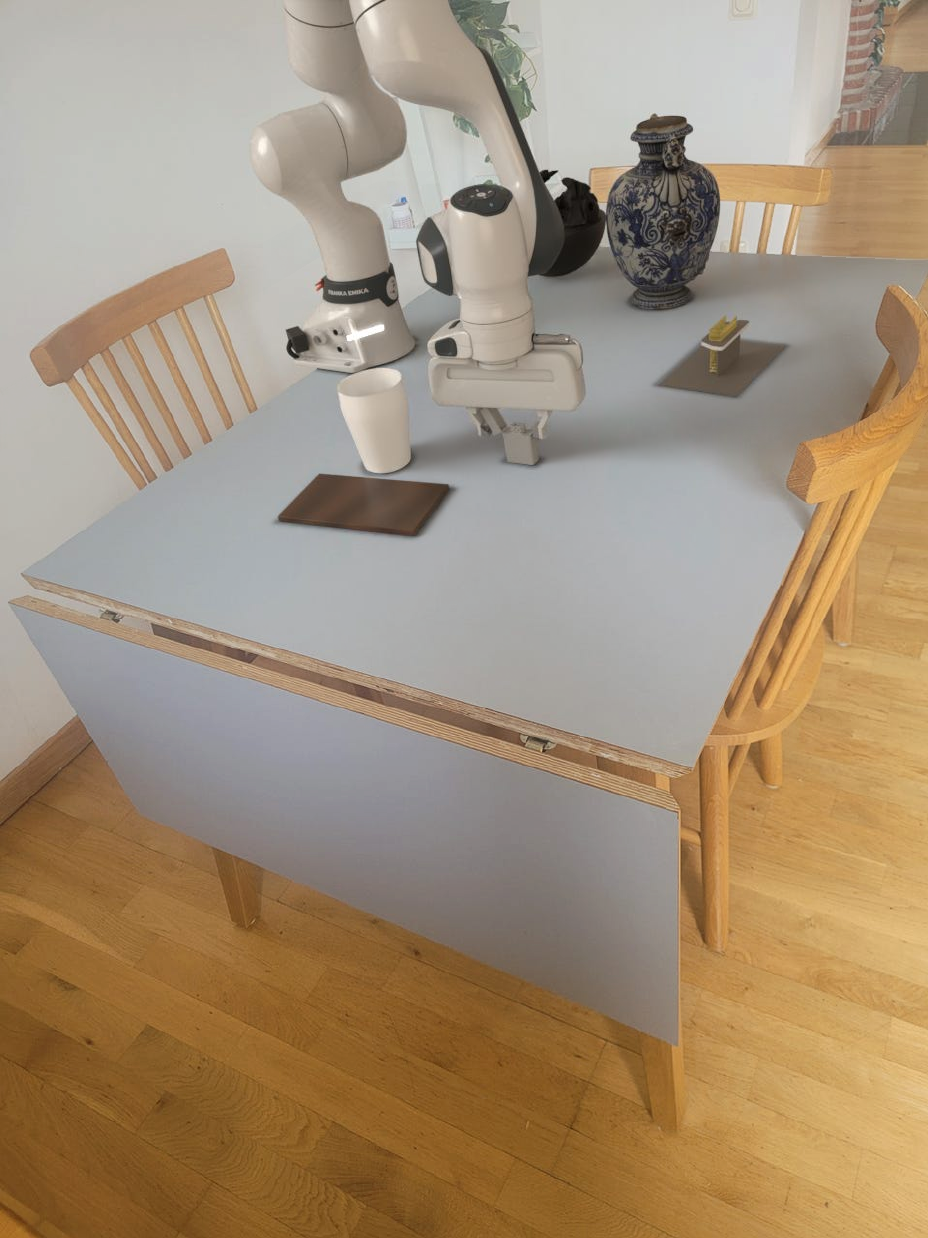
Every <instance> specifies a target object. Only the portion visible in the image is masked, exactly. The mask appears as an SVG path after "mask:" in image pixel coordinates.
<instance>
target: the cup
mask: <svg viewBox="0 0 928 1238" xmlns="http://www.w3.org/2000/svg"><path fill="white" fill-rule="evenodd" d="M336 390H337V395H338V401H339V407H340V410H341V413H342V415H343V419H344V421H345V424H346V426H347V428H348V430H349V433H350V435H351V437H352V440H353V442H354V444H355V447H356V449H357V451H358V454H359V456H360V459H361V461H362V463H363V466H364V468H365V469H366V470H367V471H368V472H370V473H374V474H389V473H393V472H396V471H398V470H401V469H403V468H404V467H406V466H407V465H408V464H409V463H410V462H411V459H412V454H411V453H412V451H411V436H410V418H409V403H408V395H407V391H406V388H405V384H404V381H403V376H402V374H401V372H400V371H399V370H397V369H394V368H389V367H376V368H367V369H364V370H362V371H359V372H355V373H351V374H350V375H348V376H346V377H344V378H343V379H342V380H340V382H338V384H337V387H336Z"/></svg>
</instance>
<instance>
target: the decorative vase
mask: <svg viewBox="0 0 928 1238" xmlns="http://www.w3.org/2000/svg"><path fill="white" fill-rule="evenodd" d="M693 132H694V127H693V126H692V124H690V123H688V119H687V117H686V116H684V115H683V116H682V115H662V116H659V115H658V114H657V113H656V112H655V113H652V114H651V115H650V116H649V118H648V119H645V120H643V121H641V122H639V123H637V124H636V127H635V130H634V131H633V132H632V133H631V134H630V141H631V142H634V143H637V145H638V147H639V150H640V151H639V153H638V158H639V162H638V163H637V164H636V166H634V167H632V168H631V169H630V168H629V170H627V171H625V172H623V173H622V174H621V175H620V176H619V177H618V178H617V179H616V180H615V181H614V182H613V184H612V186H611V188H610V190H609V193H608V195H607V196H608V197H607V201H606V206H605V208H606V210H605V214H606V225H605V227H606V234H607V239H608V244H609V246H610V250H611V253H612V255H613V258H614V260H615V262H616V264H617V267H618V268H619V270H620V272H621V274H622V275H623V276H624V277H625V279H626V280H627V281H628V283H630V284H631V285H632V286H633V287H635V288H636V289H635V290H634V291H633V292H632V294H631V296H630V302H631V304H632V305H634V306H635V307H637V308H639V309H644V310H652V311H655V310H669V309H674V308H678V307H680V306H684V305H685V304H687V303H689V301H691V300H692V298H693V292H692V290H691V289H690V288H689V287H688V286H686V285H688V284H689V283H690V282H692V281H694V280H696V278H697V277H698V276H700V275H703V273H704V271H705V269H706V264H707V262H708V261H709V259H710V258H709V257H710V252H711V249H712V248H713V245H714V242H715V240H716V239H715V238H716V235H717V231H718V227H719V221H720V213H721V194H720V188H719V184H718V181H717V179H716V177H715V175H714V174H713V172H712V171H710V169H708V168H707V167H705V165H702V164H701V163H699V162H697V161H694V160H691V159H689V158H687V157H686V155H685V153H686V151H687V148H686V147H685V141H686V137H687V136H688V135H690V134H692V133H693Z"/></svg>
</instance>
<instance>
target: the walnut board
mask: <svg viewBox="0 0 928 1238" xmlns="http://www.w3.org/2000/svg"><path fill="white" fill-rule="evenodd" d="M449 491H450V485H449V484H448V483H439V482H438V483H437V482H424V481H414V480H413V481H411V480H401V479H389V478H379V477H378V478H377V477H365V476H353V475H343V474H340V475H339V474H329V473H318V474H317V475H316V476H315V477H314V478H313V480H311V481H310V482H309V483H308V485H307V486H305V488H304V489H303V490H301V492H300V493H299V494H298V495H297V496H296V497H295V498H294V499H293V500H292V501H291V502H290V503H289V504H288V505H287V506H286V507H285V508H284V509H283V510H282V511H281V512H280V513H279V514H278V515H277V518H278V521H279V522H282V523H283V522H284V523H292V524H302V525H311V526H318V527H319V526H320V527H327V528H337V529H345V530H354V531H363V532H373V533H383V534H391V535H400V536H409V537H415V536H416V535H417V534H418V532H419V531H420V530H421V528H422V527H423V525H424V524H425V523H426V521H427V520H428V518H429V517H430V516H431V514H432V513H433V512H434V511H435V509H436V508H437V507H438V505H439V504H440V502H442V500H443V499H444V497H445V496H446V495H447V493H448V492H449Z"/></svg>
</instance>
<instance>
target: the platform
mask: <svg viewBox="0 0 928 1238" xmlns="http://www.w3.org/2000/svg"><path fill="white" fill-rule="evenodd" d="M748 327H750V320H746V319H738V315H735V316H734V318H733V319H732V320H731V321H727V315H723V317H722V318H721V319H719V321H717V322H716V323H715V324H714V325H713V326H712V327H711V328H709V329H708V330H709V331H708V333H707V334H706V335H705V336H704V337H703V338H701V342H700V343H701V344H700V346H699V347H698V348H697V349H695V351H694V352H692V354H690V355H689V356H688V357H687V358H686V359H685V360H684V361H683V362H682V363H680V365H678V366H677V367H676V368H675V369H674V370H673V371H672V372H671V373H670V374H669V375H667V376H666V377H665V378H664V379H663V380H662V381H661V382H659V384H658V386H662V387H668V388H676V389H680V390H681V389H682V390H688V391H693V392H702V393H709V394H715V395H720V396H721V395H722V396H728V397H738V396H739V395H740V394H741V393H742V392H743V391H744V390H745V388H747V386H748V385H749V384H750V383H751V382H752V381H753V380H754V379H755V378H756V377H757V376H758V375H759V374H760V373H761V372H762V371H763V370H764V369H765V368H766V366H767V365H769V364H770V363H771V361H772V360H773V359H774V358H775V357H776V356H777V355H778V354H779V353H780V352H781V351H782V350H783V349H784V348H785V345H780V344H770V343H762V342H754V341H746V340H745V341H744V340H741V334H743V332H744V331H745V330H746V329H747V328H748Z"/></svg>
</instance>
